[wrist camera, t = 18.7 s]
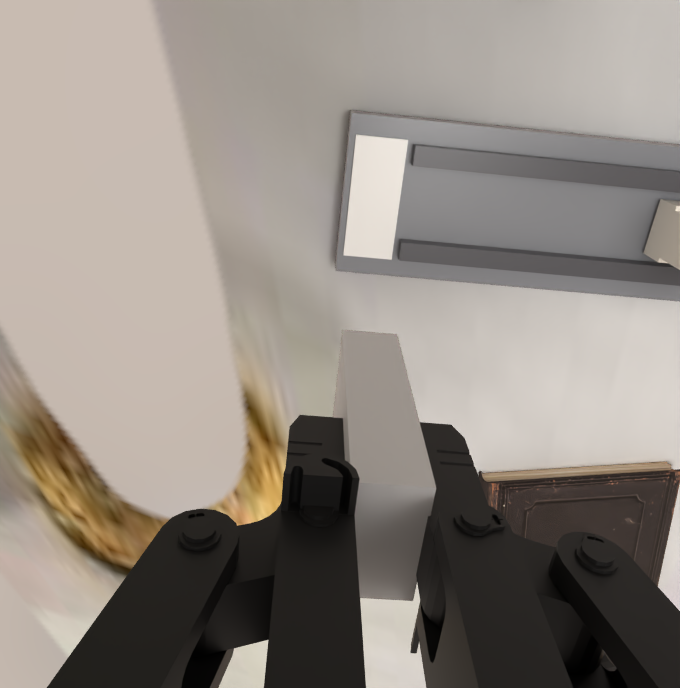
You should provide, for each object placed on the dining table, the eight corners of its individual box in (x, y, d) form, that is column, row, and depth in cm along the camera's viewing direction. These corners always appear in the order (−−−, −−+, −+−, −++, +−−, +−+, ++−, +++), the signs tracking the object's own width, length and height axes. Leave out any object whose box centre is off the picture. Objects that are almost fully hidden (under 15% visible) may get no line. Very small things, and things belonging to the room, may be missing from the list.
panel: (350, 110, 39) (352, 114, 36) (772, 154, 41) (804, 161, 38) (335, 261, 43) (335, 275, 40) (718, 296, 45) (743, 311, 42)
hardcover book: (668, 455, 51) (682, 471, 49) (630, 646, 61) (640, 667, 59) (476, 467, 51) (483, 484, 49) (469, 656, 61) (474, 677, 59)
